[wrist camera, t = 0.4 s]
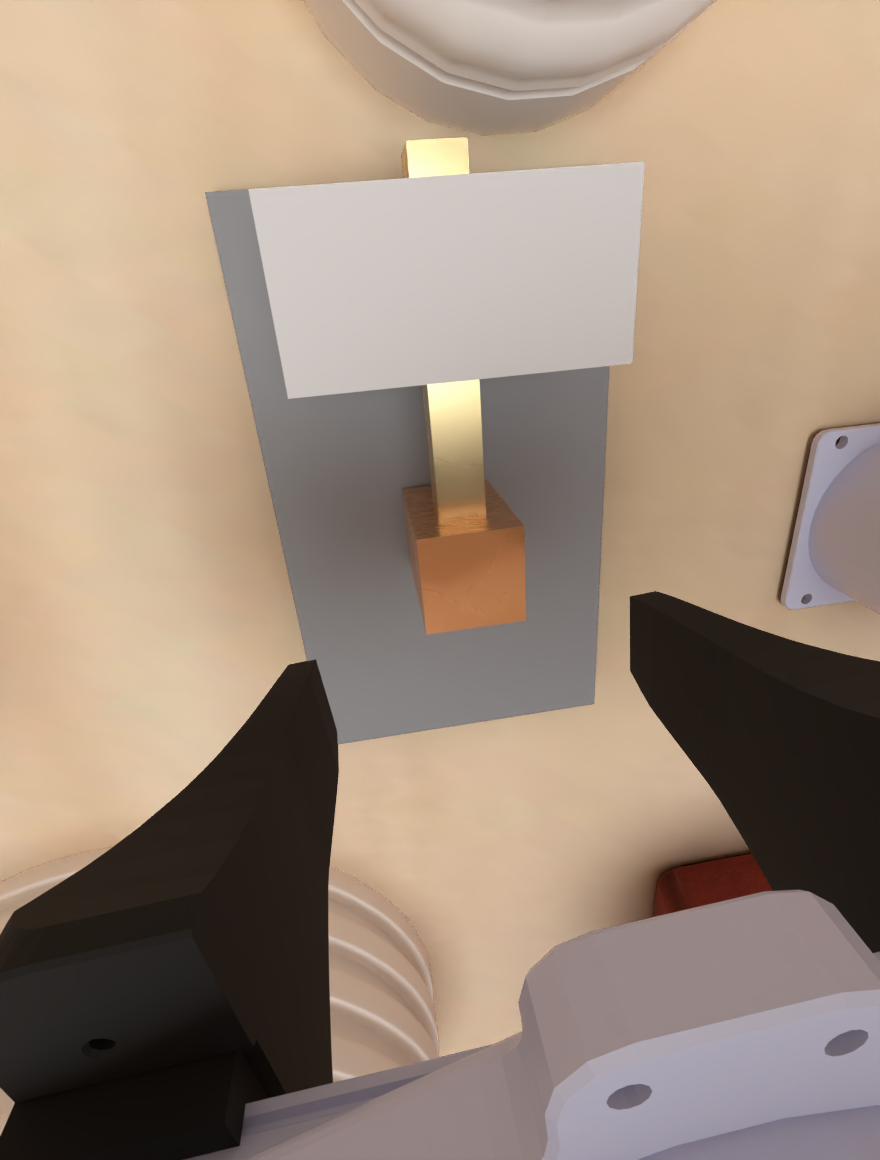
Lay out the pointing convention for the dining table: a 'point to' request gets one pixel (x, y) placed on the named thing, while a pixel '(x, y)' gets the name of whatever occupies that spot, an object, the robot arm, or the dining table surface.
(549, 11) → the honey pot
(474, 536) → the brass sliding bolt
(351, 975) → the plate stack
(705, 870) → the plant pot
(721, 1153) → the robot arm
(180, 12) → the dining table surface
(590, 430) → the block
